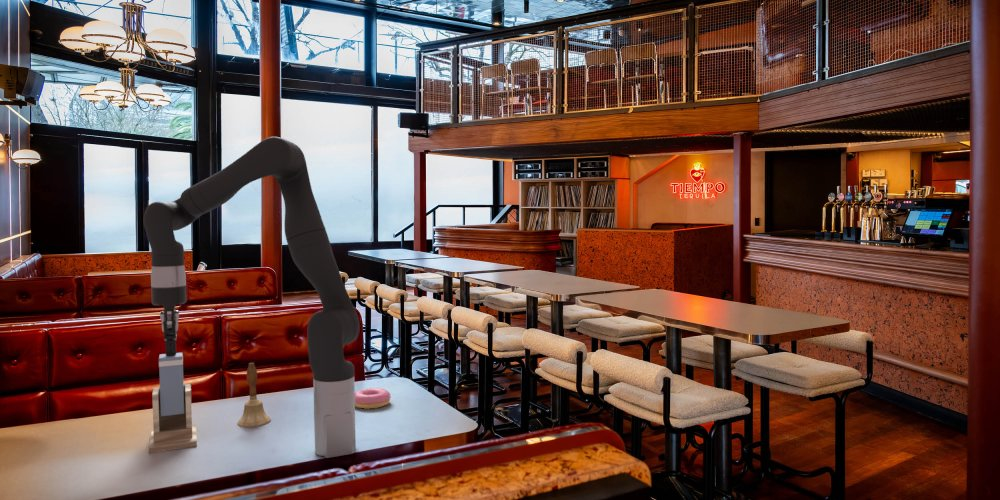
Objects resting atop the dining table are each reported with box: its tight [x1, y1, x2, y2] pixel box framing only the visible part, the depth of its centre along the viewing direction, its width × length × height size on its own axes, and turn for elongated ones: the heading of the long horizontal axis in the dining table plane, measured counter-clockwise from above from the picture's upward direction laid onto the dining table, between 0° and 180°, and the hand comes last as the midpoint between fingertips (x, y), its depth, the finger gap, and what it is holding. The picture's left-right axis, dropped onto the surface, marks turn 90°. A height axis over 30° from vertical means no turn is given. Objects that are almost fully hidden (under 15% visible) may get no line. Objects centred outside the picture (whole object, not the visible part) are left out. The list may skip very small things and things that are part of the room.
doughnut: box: [355, 387, 391, 410], centre depth 185 cm, size 11×11×4 cm
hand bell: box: [237, 362, 271, 428], centre depth 170 cm, size 8×8×16 cm
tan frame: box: [148, 383, 198, 454], centre depth 156 cm, size 14×10×13 cm
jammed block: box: [158, 352, 185, 416], centre depth 156 cm, size 5×5×14 cm
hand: (171, 355), depth 155 cm, fingers closed
